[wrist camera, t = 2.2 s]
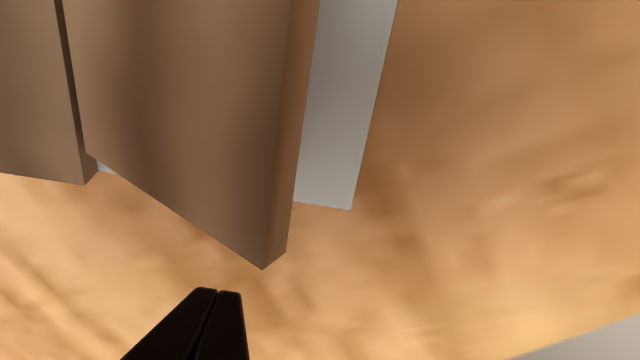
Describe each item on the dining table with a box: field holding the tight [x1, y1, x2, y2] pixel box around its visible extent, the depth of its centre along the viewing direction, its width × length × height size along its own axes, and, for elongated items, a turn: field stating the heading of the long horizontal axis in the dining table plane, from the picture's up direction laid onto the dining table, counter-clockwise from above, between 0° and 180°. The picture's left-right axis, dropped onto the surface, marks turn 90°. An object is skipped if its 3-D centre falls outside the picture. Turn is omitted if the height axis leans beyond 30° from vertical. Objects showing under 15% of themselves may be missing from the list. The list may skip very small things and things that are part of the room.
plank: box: [62, 0, 320, 270], centre depth 14 cm, size 10×11×1 cm
